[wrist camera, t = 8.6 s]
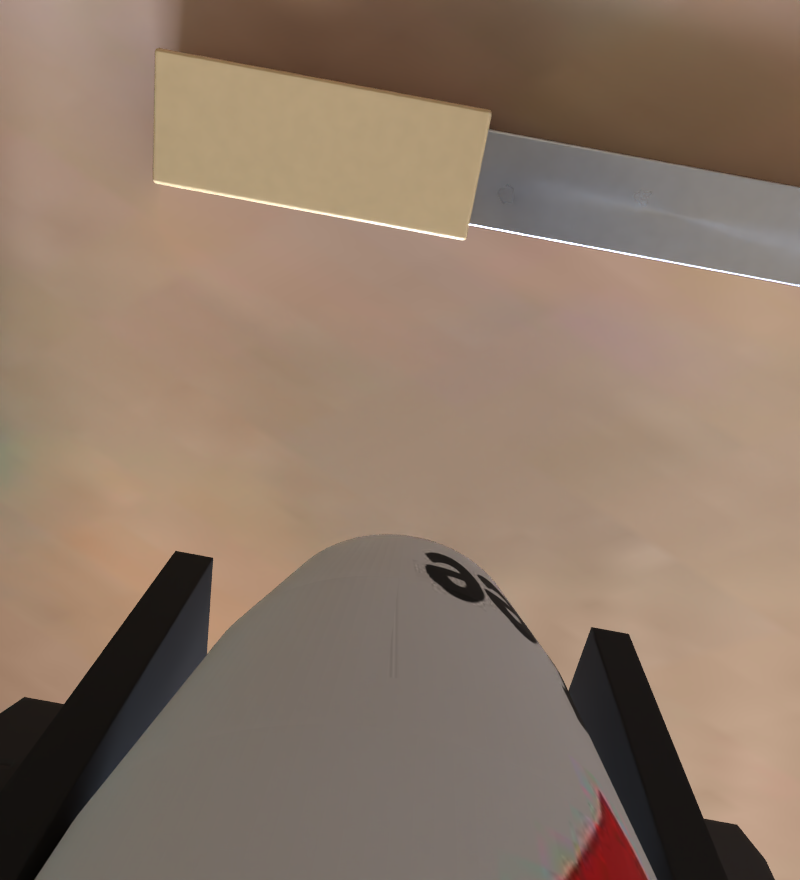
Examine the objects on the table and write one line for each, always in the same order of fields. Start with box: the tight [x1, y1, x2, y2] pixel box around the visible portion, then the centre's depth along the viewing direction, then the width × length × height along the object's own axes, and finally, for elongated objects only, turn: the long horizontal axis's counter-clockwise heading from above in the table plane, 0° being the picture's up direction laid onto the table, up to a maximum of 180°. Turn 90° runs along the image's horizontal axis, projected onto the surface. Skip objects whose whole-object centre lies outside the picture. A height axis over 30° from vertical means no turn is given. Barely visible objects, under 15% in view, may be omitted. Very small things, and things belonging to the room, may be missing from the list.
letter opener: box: [153, 48, 800, 287], centre depth 14 cm, size 18×3×1 cm, turn 80°
